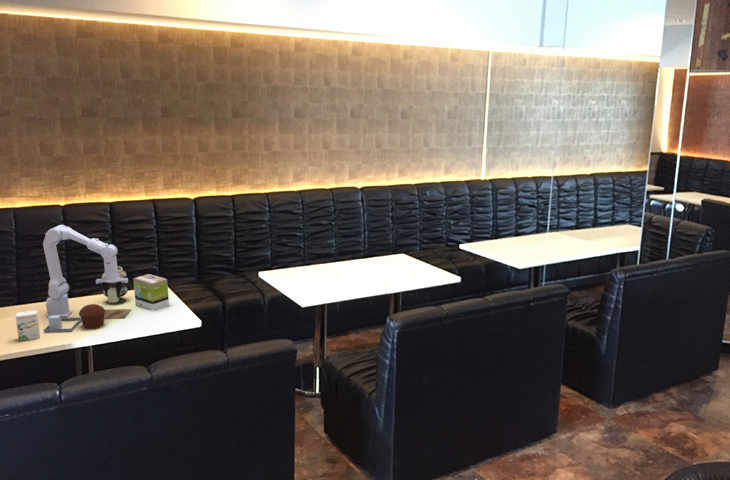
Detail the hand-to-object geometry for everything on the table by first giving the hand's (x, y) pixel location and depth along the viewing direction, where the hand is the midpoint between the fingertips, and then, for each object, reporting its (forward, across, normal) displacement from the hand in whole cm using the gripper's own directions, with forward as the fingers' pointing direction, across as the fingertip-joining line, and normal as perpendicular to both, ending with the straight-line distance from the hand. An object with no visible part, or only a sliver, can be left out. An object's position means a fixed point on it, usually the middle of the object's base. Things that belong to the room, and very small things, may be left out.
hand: (113, 297), depth 310 cm
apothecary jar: (+9, -5, +20) cm, 23 cm away
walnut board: (+9, 0, 0) cm, 9 cm away
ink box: (+9, -29, -28) cm, 41 cm away
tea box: (+9, +15, +12) cm, 21 cm away
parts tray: (+9, -19, -14) cm, 26 cm away
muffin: (+9, -6, -15) cm, 18 cm away
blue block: (+9, -22, -18) cm, 29 cm away
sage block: (+2, 0, 0) cm, 2 cm away
